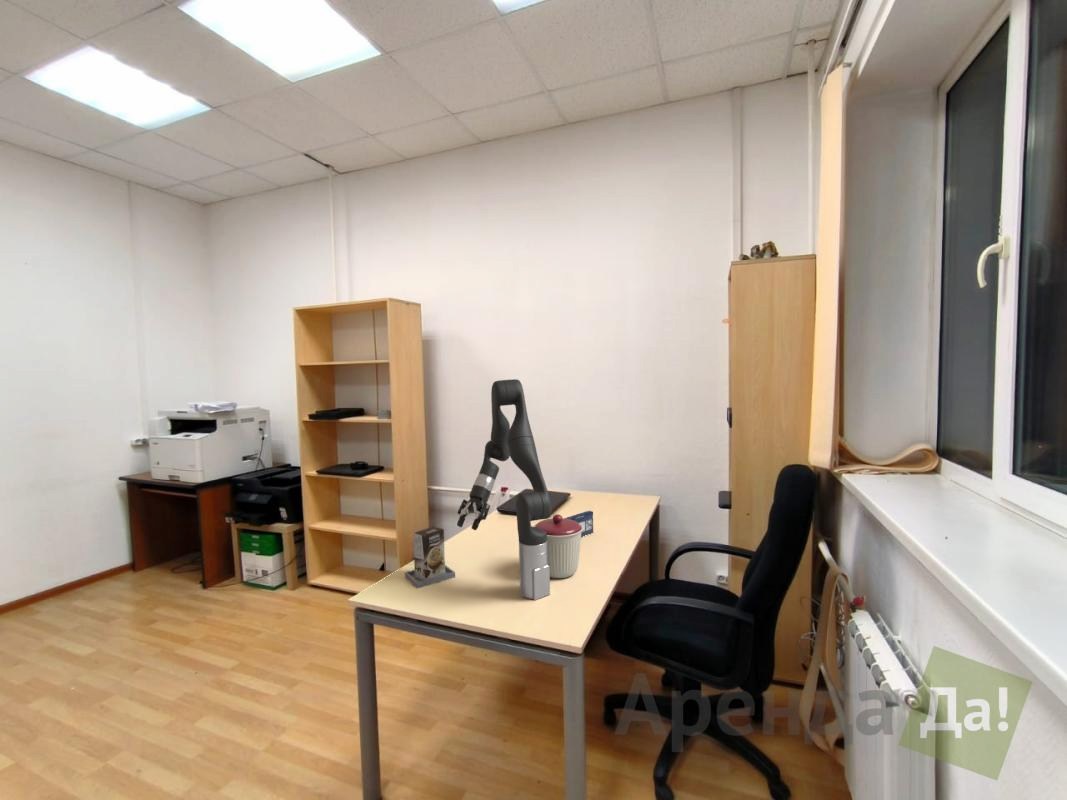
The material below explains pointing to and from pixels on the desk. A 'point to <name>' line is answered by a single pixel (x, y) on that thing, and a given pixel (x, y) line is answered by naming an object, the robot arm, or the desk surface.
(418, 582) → the tray
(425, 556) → the coffee box
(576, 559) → the canister
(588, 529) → the vhs cassette tape
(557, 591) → the desk surface
